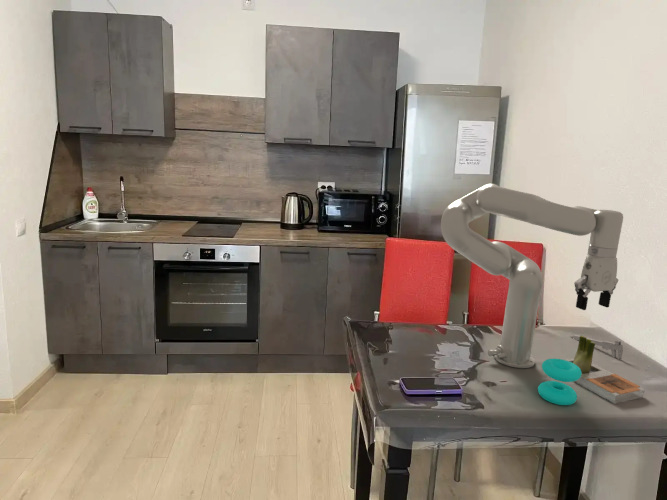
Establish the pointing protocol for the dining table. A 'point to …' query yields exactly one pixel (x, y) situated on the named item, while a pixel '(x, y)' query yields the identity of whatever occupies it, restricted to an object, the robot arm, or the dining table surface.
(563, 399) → the donuts
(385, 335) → the dining table surface
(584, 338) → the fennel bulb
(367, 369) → the dining table surface
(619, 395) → the orange and grey tray
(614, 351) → the caliper
